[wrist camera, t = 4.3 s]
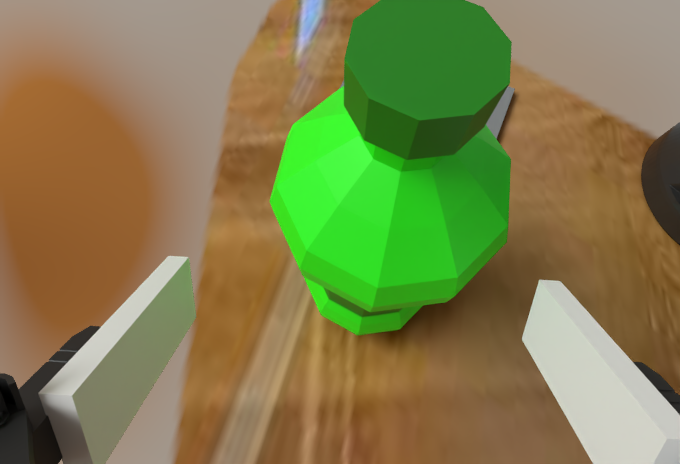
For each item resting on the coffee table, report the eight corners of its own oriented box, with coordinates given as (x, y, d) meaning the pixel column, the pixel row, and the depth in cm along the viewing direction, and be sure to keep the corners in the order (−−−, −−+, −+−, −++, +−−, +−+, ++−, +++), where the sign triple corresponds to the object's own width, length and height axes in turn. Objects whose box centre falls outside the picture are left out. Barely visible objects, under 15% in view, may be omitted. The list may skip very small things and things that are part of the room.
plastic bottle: (294, 332, 32) (170, 204, 8) (320, 214, 35) (283, -105, 12) (417, 355, 31) (652, 288, 8) (430, 233, 35) (620, -64, 11)
